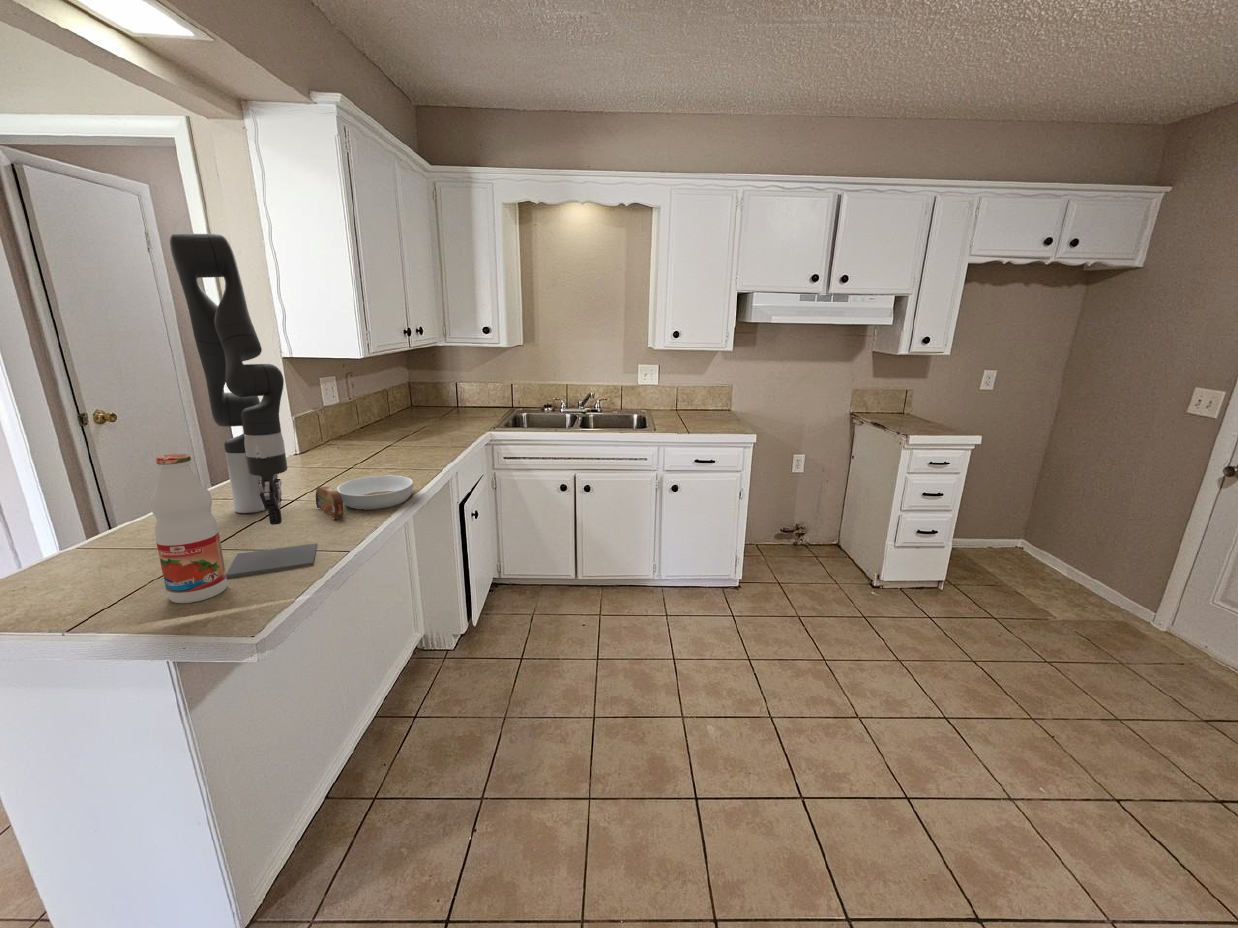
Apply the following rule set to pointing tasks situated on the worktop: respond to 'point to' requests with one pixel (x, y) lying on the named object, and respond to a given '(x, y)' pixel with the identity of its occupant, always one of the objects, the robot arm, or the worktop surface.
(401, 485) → the serving bowl
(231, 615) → the worktop surface
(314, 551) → the mat
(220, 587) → the fruit juice
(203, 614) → the worktop surface
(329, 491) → the tin
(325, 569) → the worktop surface
